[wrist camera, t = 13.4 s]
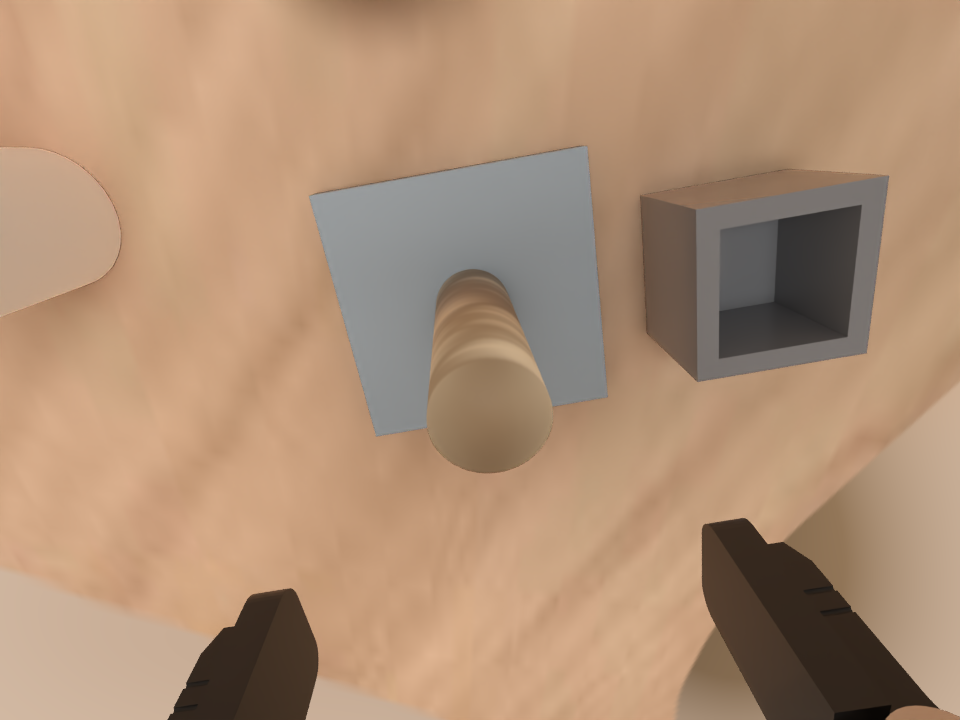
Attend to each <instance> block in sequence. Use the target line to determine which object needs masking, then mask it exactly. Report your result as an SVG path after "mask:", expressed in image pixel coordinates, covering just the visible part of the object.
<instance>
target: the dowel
mask: <svg viewBox="0 0 960 720" xmlns="http://www.w3.org/2000/svg"><path fill="white" fill-rule="evenodd" d="M426 419H427V429H428V433H429V436H430V439H431V441H432V443H433V445H434V446H435V448H436V449H437V450H438V452H439V453H440V454H441V455H442V456H443V457H444V458H445V459H447V460H448V461H449V462H451V463H452V464H454V465H456V466H458V467H460V468H462V469H465V470H468V471H472V472H477V473H497V472H503V471H507V470H510V469H513V468H516V467H518V466H520V465H522V464H523V463H525V462H527V461H528V460H530V459H531V458H532V457H533V456H534V455H535V454H536V453H537V452H538V451H539V450H540V449H541V448H542V446H543V445H544V444H545V442H546V440H547V438H548V436H549V434H550V431H551V428H552V423H553V407H552V402H551V399H550V396H549V393H548V391H547V389H546V386H545V384H544V381H543V379H542V376H541V374H540V371H539V369H538V366H537V364H536V362H535V359H534V357H533V354H532V352H531V349H530V347H529V344H528V342H527V340H526V337H525V335H524V332H523V330H522V327H521V325H520V322H519V320H518V317H517V315H516V313H515V310H514V308H513V305H512V303H511V300H510V298H509V295H508V293H507V290H506V288H505V287H504V285H503V284H502V282H501V281H500V280H499V279H498V278H497V277H495V276H494V275H492V274H491V273H489V272H486V271H483V270H478V269H468V270H463V271H460V272H457V273H456V274H454V275H452V276H451V277H449V278H448V279H447V280H446V281H445V282H444V284H443V285H442V286H441V288H440V290H439V292H438V295H437V300H436V310H435V322H434V334H433V345H432V357H431V369H430V380H429V392H428V404H427V415H426Z"/></svg>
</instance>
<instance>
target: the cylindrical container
mask: <svg viewBox="0 0 960 720" xmlns="http://www.w3.org/2000/svg"><path fill="white" fill-rule="evenodd" d="M120 246H121V230H120V224H119V219H118V216H117V213H116V211H115V208H114V206H113V203H112V202H111V200H110V199H109V197H108V195H107V194H106V192H105V190H104V189H103V188H102V187H101V185H100V184H99V183H98V182H97V181H96V180H95V179H94V177H93V176H91V175H90V174H89V173H88V172H87V171H86V170H84V169H83V168H82V167H81V166H79V165H78V164H76V163H75V162H73V161H71V160H70V159H68V158H66V157H64V156H62V155H59V154H57V153H55V152H52V151H48V150H44V149H40V148H28V147H0V317H3V316H5V315H8V314H11V313H13V312H16V311H19V310H21V309H24V308H27V307H29V306H32V305H35V304H37V303H40V302H43V301H45V300H48V299H51V298H53V297H56V296H59V295H61V294H64V293H67V292H69V291H72V290H75V289H77V288H80V287H83V286H85V285H88V284H90V283H93V282H95V281H97V280H99V279H100V278H101V277H103V276H104V275H106V274H107V272H108V271H109V270H110V269H111V268H112V267H113V265H114V263H115V261H116V259H117V257H118V254H119V250H120Z"/></svg>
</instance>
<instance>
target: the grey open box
mask: <svg viewBox="0 0 960 720" xmlns="http://www.w3.org/2000/svg"><path fill="white" fill-rule="evenodd" d="M888 180H889V175H875V174H859V173H843V172H828V171H812V170H796V169H786V170H780V171H774V172H769V173H763V174H758V175H752V176H746V177H741V178H735V179H729V180H724V181H718V182H713V183H707V184H701V185H696V186H690V187H684V188H679V189H673V190H668V191H662V192H656V193H651V194H645V195H641V215H642V237H643V258H644V279H645V301H646V322H647V334H648V335H649V336H650V337H651V338H652V339H654V340H655V341H656V342H657V343H658V344H659V345H660V346H661V347H662V348H663V349H664V350H665V351H666V352H667V353H668V354H669V355H670V356H671V357H672V358H673V359H674V360H675V361H676V362H677V363H678V364H679V365H681V366H682V367H683V368H684V369H685V370H686V371H687V372H688V373H689V374H690V375H691V376H692V377H693V378H694V379H695V380H696V381H697V382H700V381H706V380H712V379H718V378H724V377H729V376H735V375H741V374H747V373H753V372H759V371H765V370H771V369H776V368H782V367H788V366H794V365H800V364H806V363H812V362H818V361H824V360H829V359H835V358H841V357H847V356H853V355H859V354H865V353H867V346H868V339H869V331H870V323H871V315H872V307H873V299H874V291H875V283H876V275H877V267H878V259H879V252H880V244H881V236H882V228H883V220H884V212H885V204H886V196H887V188H888Z"/></svg>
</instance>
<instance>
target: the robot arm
mask: <svg viewBox="0 0 960 720" xmlns="http://www.w3.org/2000/svg"><path fill="white" fill-rule="evenodd" d="M702 587H703V593H704V597H705V601H706V604H707V607H708V610H709V612H710V615H711V617H712V619H713V621H714V623H715V625H716V626H717V628H718V630H719V632H720V634H721V636H722V638H723V639H724V641H725V643H726V645H727V647H728V649H729V651H730V653H731V654H732V656H733V658H734V660H735V662H736V664H737V666H738V667H739V669H740V671H741V673H742V675H743V677H744V679H745V681H746V682H747V684H748V686H749V688H750V690H751V692H752V694H753V695H754V697H755V699H756V701H757V703H758V705H759V706H760V708H761V710H762V712H763V714H764V716H765V718H766V719H767V720H960V717H959V716H957V715H954V714H952V713H950V712H947V711H944V710H940V709H939V708H938V707H937V706H936V705H935V704H934V703H933V702H932V701H931V700H930V699H929V698H928V697H927V696H926V695H925V693H924V692H923V691H922V690H921V689H920V688H919V686H918V685H917V684H916V683H915V682H914V681H913V679H912V678H911V677H910V676H909V675H908V674H907V673H906V671H905V670H904V669H903V668H902V666H901V665H900V664H899V663H898V662H897V661H896V659H895V658H894V657H893V656H892V655H891V653H890V652H889V651H888V650H887V649H886V648H885V646H884V645H883V644H882V643H881V642H880V641H879V639H878V638H877V637H876V636H875V635H874V634H873V632H872V631H871V630H870V629H869V628H868V626H867V625H866V624H865V623H864V622H863V621H862V619H861V618H860V617H859V616H858V615H857V614H856V612H852V610H851V606H850V605H849V604H848V603H847V602H846V601H845V599H844V598H843V597H842V596H841V595H840V593H839V592H838V591H835V590H834V589H833V585H832V584H831V583H830V582H829V581H828V579H827V578H826V577H825V576H824V575H823V573H822V572H821V571H820V570H819V569H818V568H817V567H816V565H815V564H814V563H813V562H812V561H811V560H809V559H808V558H807V557H805V556H803V555H802V554H800V553H799V552H797V551H796V550H794V549H793V548H791V547H789V546H788V545H787V544H785V543H784V542H780V543H773V544H767V543H766V542H765V540H764V539H763V538H762V536H761V535H760V534H759V533H758V531H757V530H756V529H755V527H754V526H753V525H752V524H751V523H750V522H749V521H748V520H747V519H745V518H741V519H734V520H728V521H722V522H715V523H709V524H704V525H703V528H702ZM317 672H318V648H317V644H316V640H315V638H314V635H313V633H312V630H311V628H310V625H309V623H308V620H307V618H306V616H305V613H304V611H303V608H302V606H301V603H300V601H299V598H298V596H297V594H296V592H295V591H294V590H293V589H291V588H290V589H283V590H277V591H270V592H264V593H258V594H253V595H251V596H250V597H249V598H248V599H247V601H246V603H245V605H244V607H243V609H242V611H241V613H240V615H239V618H238V620H237V622H236V624H235V626H234V627H227V628H223V630H222V631H221V632H220V633H219V634H218V635H217V636H216V638H215V639H214V640H213V641H212V642H211V643H210V644H209V646H208V647H207V648H206V649H205V650H204V651H203V652H202V653H201V655H200V657H199V659H198V661H197V663H196V665H195V667H194V669H193V671H192V673H191V675H190V677H189V679H188V681H187V683H186V685H187V686H186V689H183V691H182V693H181V694H180V696H179V699H178V700H177V702H176V704H175V706H174V713H173V714H170V716H169V718H168V720H305V719H306V715H307V712H308V708H309V704H310V700H311V697H312V693H313V689H314V685H315V682H316V678H317Z"/></svg>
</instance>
